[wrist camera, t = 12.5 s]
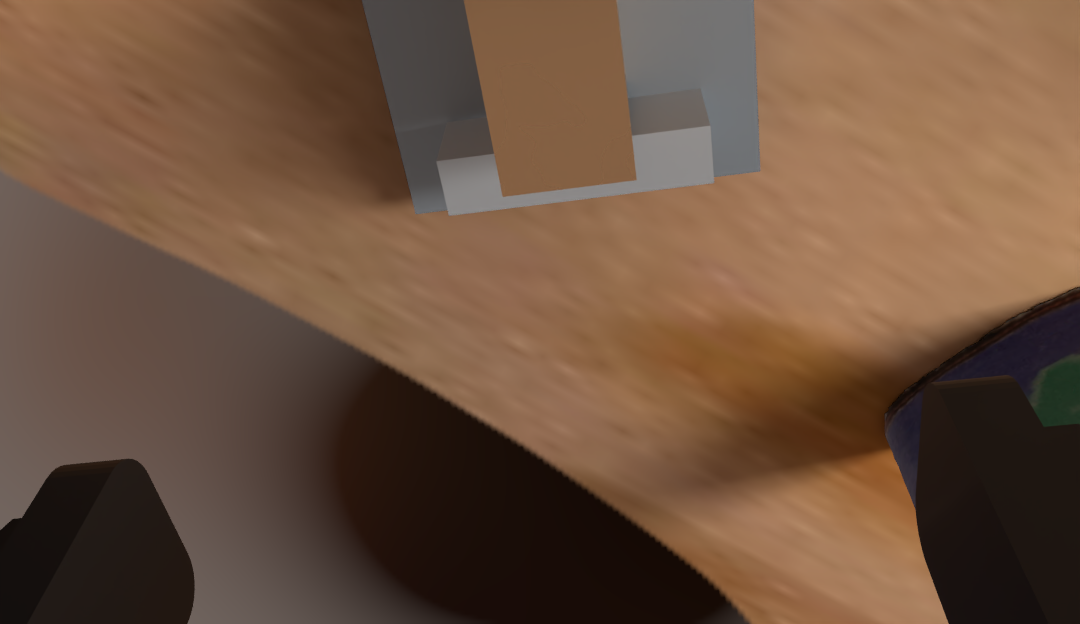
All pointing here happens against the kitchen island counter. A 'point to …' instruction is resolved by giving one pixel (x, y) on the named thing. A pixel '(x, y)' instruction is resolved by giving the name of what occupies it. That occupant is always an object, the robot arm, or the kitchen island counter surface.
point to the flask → (1015, 350)
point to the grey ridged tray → (652, 83)
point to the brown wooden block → (553, 92)
